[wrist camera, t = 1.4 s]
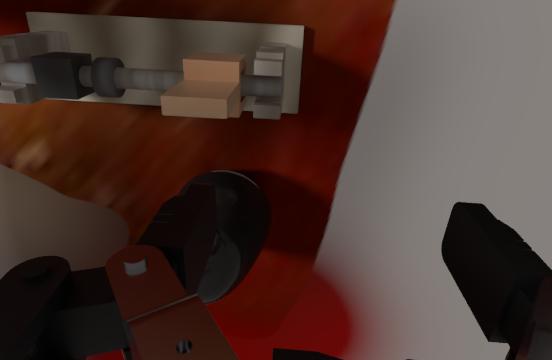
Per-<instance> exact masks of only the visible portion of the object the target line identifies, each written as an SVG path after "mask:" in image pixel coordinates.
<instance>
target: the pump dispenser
mask: <svg viewBox="0 0 552 360" xmlns="http://www.w3.org/2000/svg"><path fill="white" fill-rule="evenodd" d="M191 183H204V184H214V185H215V189H216V220H217V227H216V237H215V241H214V245H213V247H212V250H211V253H210V256H209V259H208V262H207V264H206V267H205V270H204V273H203V276H202V279H201V282H200V284H199V287H198V290H197V293H196V294H197V295H198V296H199V297H200V298H201V300H202V301H203V303H204V304H210V303H213V302H216V301H218V300H220V299H222V298H224V297H225V296H227V295H228V294H229V293H231V292H232V291H233V290H234V289H235V288H236V287H237V286H238V285H239V284H240V283H241V282H242V281H243V279H244V278H245V277H246V276H247V274H248V273H249V271H250V270H251V268H252V267H253V265H254V264H255V262H256V260H257V259H258V257H259V255H260V253H261V251H262V249H263V247H264V244H265V242H266V239H267V237H268V234H269V230H270V225H271V210H270V206H269V203H268V201H267V199H266V197H265V195H264V194H263V192H262V191H261V190H260V189H259V187H258V186H257V185H256V184H255V183H254V182H253V181H252V180H250V179H249V178H247V177H246V176H244V175H242V174H240V173H237V172H233V171H226V170H219V171H213V172H208V173H204V174H201V175H199V176H197V177H195V178H193V179H191V180H190V181H189V182H188V183H187V184H186V185H185V186H184V187H183V188H182V189H181V191H180V192H179V194H178V196H183V197H184V195H185V193H186V191H187V190H188V188H189V186H190V185H191Z"/></svg>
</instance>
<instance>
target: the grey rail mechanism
mask: <svg viewBox="0 0 552 360" xmlns="http://www.w3.org/2000/svg"><path fill="white" fill-rule="evenodd" d="M26 16H27V20H28V24H29V29H30V33H21V34H13V35H5V36H0V82H1V84H2V85H1V86H0V103H13V104H17V103H24V104H32V103H34V102H37V101H39V100H42V99H44V98H46V99H56V100H73V101H90V102H107V103H124V104H141V105H158V106H161V97H160V96H161V95H162V94H163V93H165V92H166V91H168V90H169V89H171V88H172V87H174V86H175V85H177V84H178V83H179V82H181V81H182V80H184V72H183V59H184V58H186V57H188V56H190V55H192V54H194V53H196V52H207V53H226V54H245V55H246V75H245V74H241V96H246V105H245V107H244V109H243V111H253V118H265V119H280V116H281V113H293V114H298V105H299V91H300V77H301V63H302V49H303V35H304V26H302V25H283V24H263V23H243V22H224V21H204V20H184V19H165V18H145V17H126V16H106V15H86V14H67V13H47V12H26Z"/></svg>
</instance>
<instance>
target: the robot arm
mask: <svg viewBox="0 0 552 360" xmlns="http://www.w3.org/2000/svg"><path fill="white" fill-rule="evenodd" d="M216 227H217V220H216V189H215V185H214V184H204V183H191V185H190V186H189V188H188V190H187V191H186V193H185V195H184V197H183V196H174V197H172V198H171V199H169V200H168V201H166V202H165V203H163V205H162V206H161V208H160V209H159V211H158V212H157V214H156V215H155V217H154V218H153V220H152V222H151V223H150V224H149V226H148V227H147V229H146V230H145V232H144V233H143V235H142V236H141V238H140V239H139V241H138V242H137V244H136V245H135V246H131V247H127V248H124V249H122V250H120V251H118V252H116V253H115V254H113V255H112V256H111V257H110V258H109V259H108V261H107V263H106V266H104V267H100V268H93V269H86V270H79V271H72V272H71V269H70V265H69V262H68V261H67V260H66V259H64V258H62V257H58V256H43V257H37V258H34V259H30V260H27V261H25V262H23V263H21V264H19V265H17V266H15V267H14V268H12V269H11V270H10V271H9V272H7V273H6V274H5V275H4V276H3V278H2V279H1V280H0V360H85V359H86V358H87V356H90V355H95V354H100V353H105V352H110V351H115V350H120V349H122V353H123V355H124V359H125V360H239V359H238V357H237V355H236V354H235V352H234V351H233V349H232V347H231V346H230V344H229V343H228V341H227V340H226V338H225V336H224V335H223V333H222V331H221V330H220V328H219V327H218V325H217V323H216V322H215V320H214V319H213V317H212V315H211V314H210V312H209V311H208V309H207V307H206V306H205V304H204V303H203V301H202V300H201V298H200V297H199V296H198V295H197V294H196V293H197V290H198V287H199V284H200V282H201V279H202V276H203V273H204V270H205V267H206V264H207V262H208V259H209V256H210V253H211V250H212V247H213V245H214V241H215V237H216ZM442 257H443V260H444V262H445V264H446V266H447V267H448V269H449V271H450V273H451V275H452V276H453V278H454V280H455V282H456V284H457V286H458V287H459V289H460V291H461V293H462V295H463V297H464V298H465V300H466V302H467V304H468V306H469V307H470V309H471V311H472V313H473V315H474V316H475V318H476V320H477V322H478V323H479V325H480V327H481V329H482V331H483V333H484V335H485V336H486V338H487V340H488V342H499V343H508V344H509V346H510V349H509V351H508V353H507V355H506V358H505V360H552V270H551V269H550V268H549V267H548V266H547V265H546V263H544V262H543V260H542V259H541V258H540V257H539V256H538V255H537V254H536V253H535V252H534V251H532V249H531V247H530V246H529V245H528V244H527V243H526V242H524V240H523V239H522V238H521V237H520V235H519V234H518V233H517V232H516V231H515V230H514V229H512V228H511V227H509V226H508V225H506V224H504V223H503V222H501V221H500V220H497V219H496V218H495V217H494V216H493V214H492V213H491V212H490V211H489V210H488V209H487V208H486V207H485V206H484V205H483V204H478V203H465V202H457V203H456V204H455V205H454V206H453V209H452V212H451V215H450V218H449V222H448V224H447V228H446V231H445V234H444V238H443V241H442ZM273 360H342V359H339V358H336V357H333V356H329V355H326V354H323V353H320V352H315V351H303V350H291V349H279V348H273ZM407 360H411V359H407Z"/></svg>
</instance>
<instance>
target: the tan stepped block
mask: <svg viewBox="0 0 552 360" xmlns="http://www.w3.org/2000/svg"><path fill="white" fill-rule="evenodd" d="M183 72H184V80H182V81H181V82H179V83H178V84H177V85H175V86H174V87H172V88H171V89H169V90H168V91H166V92H165V93H163V94H162V95H161V96H160V97H161V107H162V115H169V116H186V117H202V118H219V119H227V118H228V117H237V118H239V117H240V115H241V113H242V111H243V109H244V107H245V105H246V96H241V74H245V75H246V55H245V54H226V53H207V52H196V53H194V54H192V55H190V56H188V57H186V58H184V59H183Z"/></svg>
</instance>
